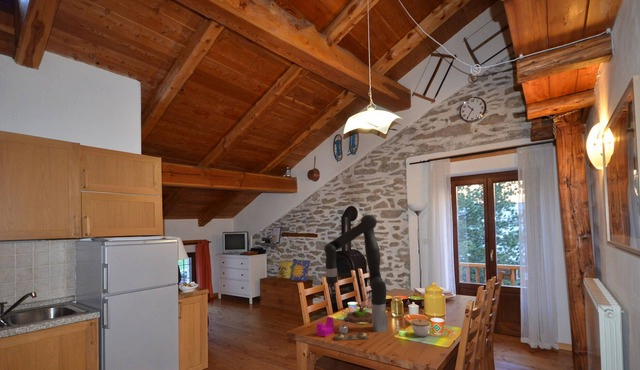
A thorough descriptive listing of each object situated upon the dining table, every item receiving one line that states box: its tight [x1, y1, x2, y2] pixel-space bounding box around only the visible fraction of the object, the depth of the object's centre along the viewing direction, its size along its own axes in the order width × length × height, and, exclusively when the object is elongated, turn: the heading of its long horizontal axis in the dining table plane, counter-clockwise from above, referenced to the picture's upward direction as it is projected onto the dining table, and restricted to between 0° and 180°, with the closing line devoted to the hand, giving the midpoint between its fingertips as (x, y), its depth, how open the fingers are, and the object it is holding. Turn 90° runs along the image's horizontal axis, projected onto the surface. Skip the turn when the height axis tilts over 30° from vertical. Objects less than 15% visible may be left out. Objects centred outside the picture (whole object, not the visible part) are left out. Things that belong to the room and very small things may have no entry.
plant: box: [346, 303, 372, 324], centre depth 254 cm, size 20×20×11 cm
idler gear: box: [338, 324, 349, 335], centre depth 227 cm, size 6×5×4 cm
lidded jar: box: [411, 318, 430, 337], centre depth 220 cm, size 11×11×9 cm
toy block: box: [316, 316, 335, 338], centre depth 228 cm, size 15×6×8 cm, turn 149°
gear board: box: [333, 332, 370, 342], centre depth 216 cm, size 21×6×3 cm, turn 95°
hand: (333, 300), depth 228 cm, fingers open, 8 cm apart
